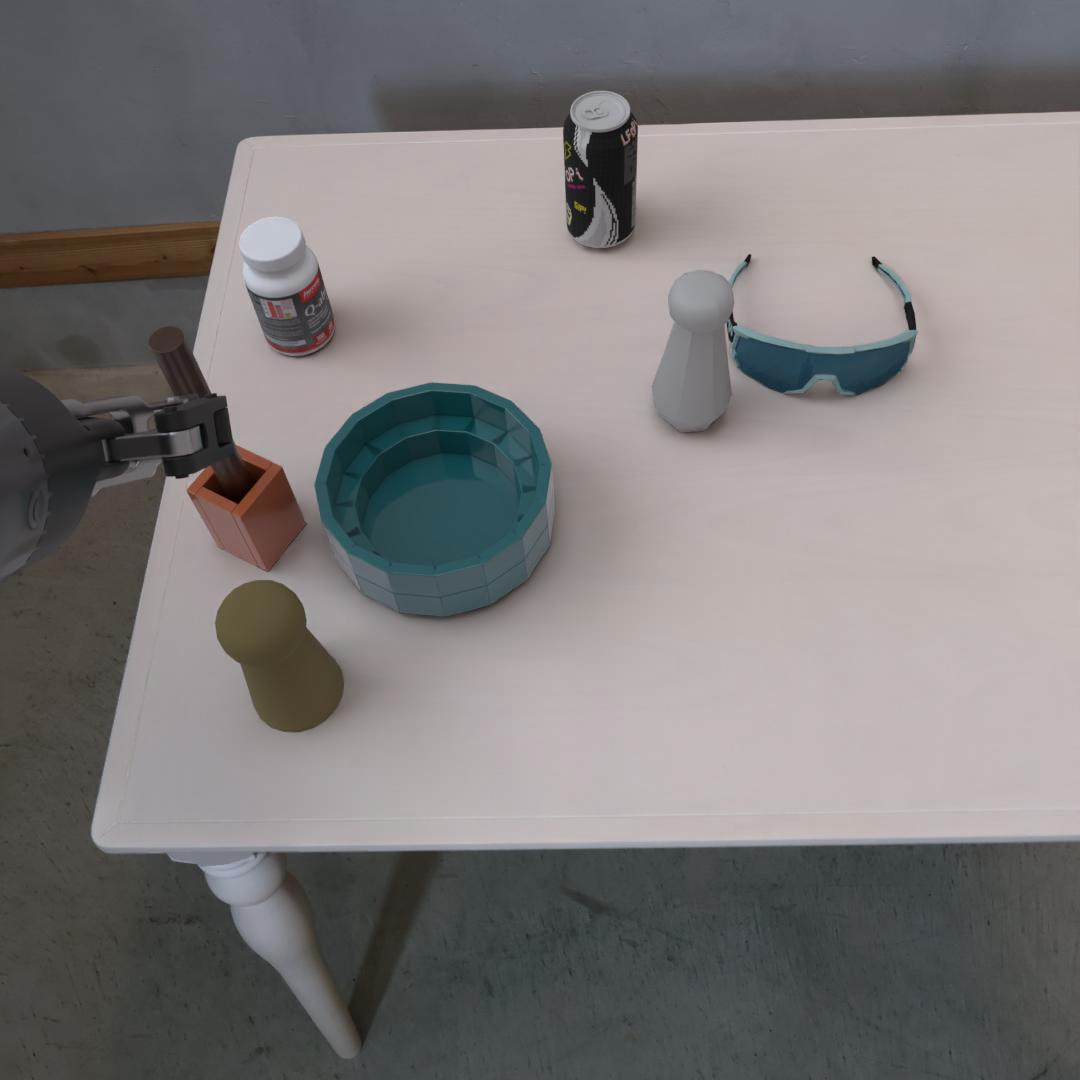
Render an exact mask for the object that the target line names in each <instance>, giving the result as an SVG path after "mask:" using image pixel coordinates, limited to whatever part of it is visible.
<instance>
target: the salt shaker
mask: <svg viewBox="0 0 1080 1080" xmlns="http://www.w3.org/2000/svg"><path fill="white" fill-rule="evenodd" d="M728 281H729V280H728V279H727V278H726V277H725V276H723V275H721V274H719V273H716V272H715V271H712V270H706V269H695V270H693V271H689V272H688V271H687V272H684V273H683V274H682V275H680V276H678V277H677V278H675V279H674V281H673V283H672V285H671V287H670V289H669V293H668V295H667V303H668V305H667V306H668V312H669V316H670V318H671V319H672V320H673V321H674V322H673V325H672V326H671V327H672V328H671V330H670V334H669V336H668V339H667V343H666V346H665V348H664V351H663V354H662V357H661V359H660V362H659V364H658V367H657V370H656V373H655V375H654V378H653V382H652V384H651V397H652V402H653V406H654V407H655V409H656V410H657V411H658V413H659V414H660V416H661V417H662V419H663V420H664V421H666V422H667V423H668V424H669V425H670V426H672V427H673V428H674V429H676V430H677V431H678V432H679V433H680V434H681V433H694V432H695V433H697V432H706V431H707V429H708V428H709V427H710V426H711V424H712V423H713V422H714V421H716V420H717V419H718V418H719V417H721V416H722V415H724V413H725V412H726V410H727V408H728V406H729V404H730V401H731V398H732V396H733V393H732V392H733V391H732V383H731V373H730V364H729V356H728V346H727V338H726V329H725V324H727V321H728V319H729V317H730V315H731V313H732V311H733V312H734V308H735V295H734V291H733V288H732V286H731V284H730V283H729V282H728Z"/></svg>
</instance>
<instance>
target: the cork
mask: <svg viewBox="0 0 1080 1080" xmlns="http://www.w3.org/2000/svg"><path fill="white" fill-rule="evenodd" d="M305 609H306V608H305V607H304V605H303V602H302V601H301V600H300V597H298V594H297V593H296V592H295V591H293V590H292V589H290V588H289V587H288V586H286V585H285V584H283V583H282V582H278V581H275V580H272V579H255V580H251V581H248V582H244V583H242V584H240V585H239V586H237V587H235V588H233V589H232V590H231V591H230V592H229V593H228V594H227V595H226V596H225V597H224V599H223V600H222V602H221V603H220V605H219V607H218V609H217V611H216V614H215V620H214V626H215V633H216V640H217V641H218V643H219V644H220V647H221V648H222V650H223V651H224V652H225V654H226V655H227V656H229V657H230V658H231V659H232V660H233V661H235V662H237V663H238V664H239V665H240V667H241V671H242V674H243V677H244V680H245V683H246V687H247V691H248V693H249V696H250V699H251V702H252V705H253V708H254V710H255V712H256V714H257V715H258V717H259V718H260V719H259V720H261V721H262V722H263V723H265V724H266V725H267V726H269V727H270V728H272V729H275V730H278V731H280V732H283V733H284V732H285V733H300V732H303V731H307V730H310V729H314V728H315V727H317V726H318V725H320V724H322V723H324V722H325V721H326V720H327V719H329V717H330V716H331V715H332V714H333V713H334V712H335V711H336V709H337V708H338V706H339V704H340V702H341V700H342V698H343V693H344V686H345V680H344V675H343V670H342V668H341V667H340V666H339V664H338V663H337V660H335V658H334V657H333V656H332V655H331V654H330V652H329V651H328V650H327V649H326V648H325V646H324V645H323V644H322V643H321V642H320V641H319V639H318V638H317V637H316V636H315V635H314V634H313V632H312V631H311V630H310V629H309V628H308V627H307V617H306V616H307V615H306V610H305Z"/></svg>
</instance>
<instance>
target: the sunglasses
mask: <svg viewBox="0 0 1080 1080" xmlns="http://www.w3.org/2000/svg"><path fill="white" fill-rule="evenodd" d="M751 259H752V254H751V253H748V255H747V256H746V257H745V259H744V260H743V261H742V262H741V263H740V264H739V265H738V266H737V267H736V268H735V269H734V271H733V273H732V275H731V276H730V278H729V279H728V280H727V281H728V282H729V283H730V284H731V286H732V289H733V288H734V285H735V282H736V281H737V279H738V278H739V277H740V275H741V274H742V273H743V272H744V271H745V270H746V268H748V266H749V264H750V262H751ZM871 265H872V266H873V267H874V268H875V269H876V270H877V272H879V273H880V274H881V275H883V276H884V277H886V278H887V279H888V281H890V282H891V283H892V285H893V286H894V287H895V288H896V290H897V291H898V292H899V294H900V296H901V297H902V300H903V310H904V314H905V319H906V324H907V327H908V330H905V331H903V332H901V333H898V334H896V335H894V336H892V337H891V338H890V337H889V338H886V339H883V340H879V341H874V342H870V343H863V344H856V345H851V346H820V345H819V346H817V345H811V344H805V343H800V342H794V341H791V340H786V339H783V338H778V337H775V336H771V335H766V334H764V333H761V332H759V331H755V330H754V329H752V328H750V327H748V326H745V325H744V326H743V325H741V326H740V325H738V322H736V321H735V318H734V310H733V311H732V313H731V315H730V317H729V319H728V321H727V323H726V329H727V331H726V332H727V338H728V341H729V342H730V343H729V347H730V349H731V357H732V359H733V361H734V363H735V366H736V368H737V369H740V371H742V372H743V373H744V374H745V375H747V376H749V377H750V378H752V379H754V380H755V381H757V382H758V383H760V384H762V385H763V386H765V387H766V388H768V389H771V390H774V391H776V392H780V393H782V394H784V395H791V394H793V395H794V394H805V393H806V392H807V391H808V390H809V389H810V388H812V387H813V386H814V385H815V384H816V383H817V382H819V381H829V382H831V383H832V385H833V387H834V390H835V391H836V392H837V394H838V395H845V396H850V397H856V396H859V395H861V394H863V393H865V392H868V391H870V390H873V389H875V388H878V387H881V386H883V385H884V384H886V383H887V382H888V381H890V380H891V379H892V378H894V377H895V376H896V375H897V374H899V373H902V371H903V370H904V368H905V367H906V365H907V364H908V362H909V358H910V356H911V355H912V353H913V351H914V348H915V343H916V339H917V335H918V333H919V330H917V322H916V321H917V319H916V312H915V309H914V306H913V303H912V300H913V299H912V293H911V292H910V290H909V289H908V287H907V286H906V285H905V283H904V282H903V280H902V279H901V278H900V276H899V275H897V274H896V273H895V272H894V271H893V270H892V269H890V268H889V267H887V265H885V264H883V263H882V262H881V261H880V260H879V259H878V258H877V257H876V256H874V255H873V256H871Z"/></svg>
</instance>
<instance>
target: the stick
mask: <svg viewBox="0 0 1080 1080" xmlns="http://www.w3.org/2000/svg"><path fill="white" fill-rule="evenodd" d="M148 347H149V349H150V351H151V354H152V355H153V357H154V359H155V361H156V363H157V365H158V366H159V368H160V370H161V372H162V374H163V377H164V378H165V380H166V383H167V384H168V386H169V389H170V390H171V392H172V394H173V396H181V395H191V394H197V395H198V396H199V398H204V397H205V394H211V393H212V390H211V388H210V386H209V384H208V383H207V380H206V379H205V376H204V374H203V372H202V370H201V367H200V365H199V364H198V361H197V358H196V357H195V355H194V352H193V350H192V348H191V346H190V344H189V342H188V340H187V338H186V336H185V333H184V332H183V330H181V328H179V327H177V326H174V325H173V326H171V325H167V326H163V327H160V328H158V329H156V330H155V331H154V332H152V334H150V336H149V339H148ZM232 442H233V443H234V450H235V453H233V454H232V455H230V456H228V457H226V458H224V459H222V460H220V461H218V462H216V463H214V464H212V465H210V466H211V468H212V470H213V472H214V474H215V476H216V478H217V480H218V482H219V484H220V486H221V487H222V489H223V491H224V493H225V495H226V497H227V499H229V500H231V501H233V502H235V503H237V504H239V503H240V502H241V501H242V499H243V498H244V497H245V496H246V495H247V493H248V492H249V491H250V490H251V489H252V487H253V486H254V483H253V481H252V479H251V477H250V474H249V472H248V470H247V468H246V466H245V464H244V462H243V459H242V457H241V455H240V453H239V451H238V449H237V447H236V445H237V444H236V443H235V440H234V439H233V441H232Z"/></svg>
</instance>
